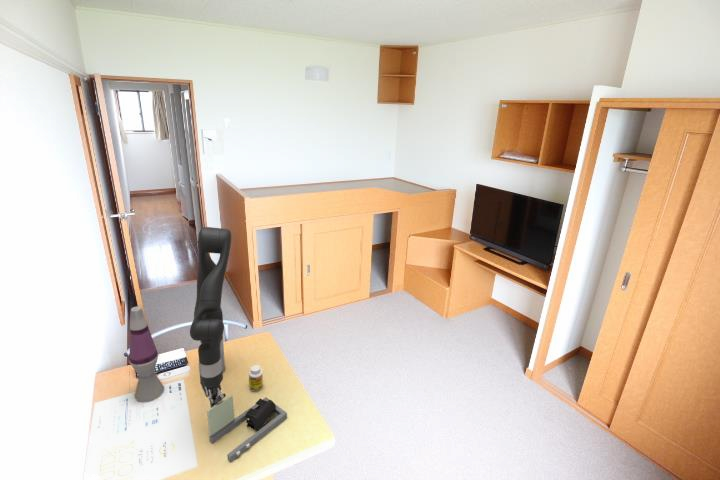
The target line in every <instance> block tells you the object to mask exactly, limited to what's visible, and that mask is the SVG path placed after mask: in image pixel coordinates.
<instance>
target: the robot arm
mask: <svg viewBox="0 0 720 480" xmlns="http://www.w3.org/2000/svg"><path fill="white" fill-rule="evenodd" d="M197 239H198V240H197V253H198V254H197V256H198V264H197V265H198V266H197V276H196V299H195V305H194V311H193V320H192V323H191V326H190V328H189V334H190V337H191V339H192V340H193V341H200V344H199V346H198V348H197V351H198V352H197V353H198V370H199V380H200V385H201V388H202V390H203V392H204V394H205V396H206V398H208V401H209V404H210V405H209V406H210V408H212V407H213V406H214V405H216V404H217V403H219V402H220V401H222V400H224V399H225V397H226V395H227V394H226V393H223V392H222V391H221V390H222V386H221V383H222V382H223V380H224V373H225V371H226V361H225V346H224V331H225V325H224V315H223V310H222V306H221V305H222V295H223V287H224V286H223V285H224V280H225V276H226V273H227V272H226V271H227V267H228V262H229V257H230V253H231V252H230V251H231V244H232V232H231V230H230V229H228V228H221V227H220V228H219V227H210V226H203V227H201V228H200V230H199V232H198V237H197ZM210 254H219V258H218V261H217V262H216V263H215V262H214V260H213V259H212V257H211V255H210Z"/></svg>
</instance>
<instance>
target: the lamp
mask: <svg viewBox="0 0 720 480" xmlns="http://www.w3.org/2000/svg"><path fill="white" fill-rule="evenodd" d="M129 318H130V319H129V330H130V331H129V332H130V333H129V360H128V363H129V364H130V366H131V367H132V369H133V370H134V371H135V372H136V374H137V375H138V376H139V377H138V380H137V383H136V384H137V385H136V389H135V392H134V399H135V400H136V401H137V402H141V403H146V402H152V401H154V400H156V399H159V397H161V395H162V394H163V393H164V391H165V386H164V385H163V383H162V382H161V380H160V379H159V377H158V376H157V374H156V373H155V370H156V369H155V368H156V366H157V362H158V357H159V352H158V349H157V347H156V345H155V342H154V339H153V336H152V333H151V331H150V328H149V325H148V322H147V319H146V316H145V314H144V311H143V309H142V307H141V306H138V305H137V306H133V307H131V309H130V317H129Z"/></svg>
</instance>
